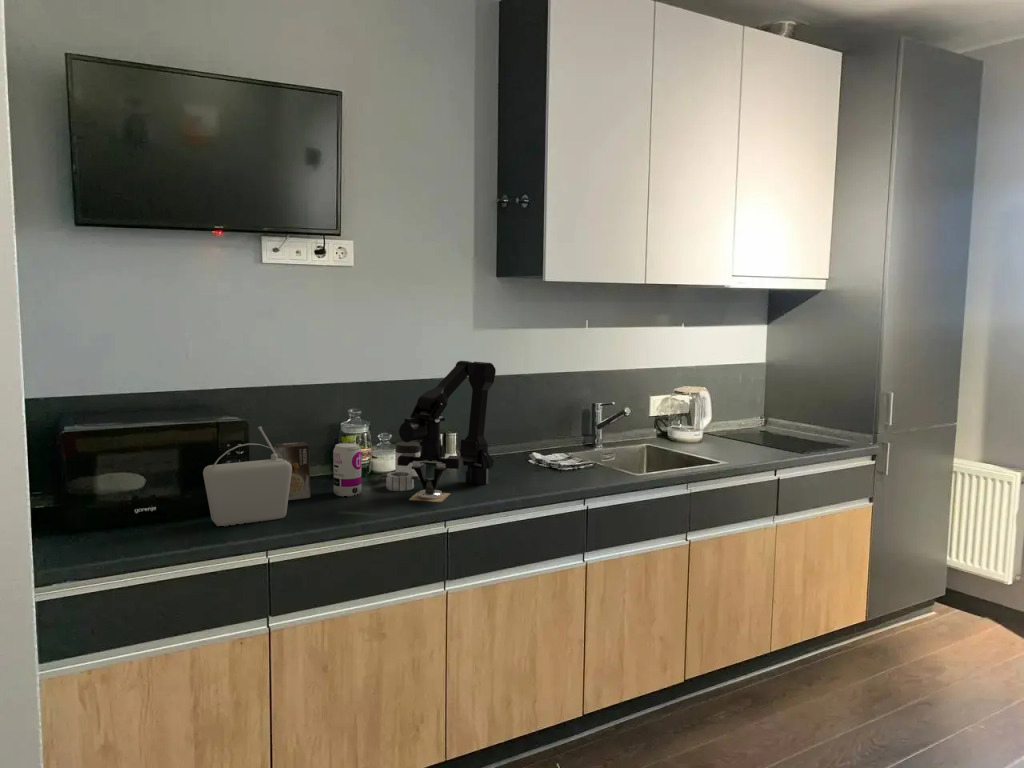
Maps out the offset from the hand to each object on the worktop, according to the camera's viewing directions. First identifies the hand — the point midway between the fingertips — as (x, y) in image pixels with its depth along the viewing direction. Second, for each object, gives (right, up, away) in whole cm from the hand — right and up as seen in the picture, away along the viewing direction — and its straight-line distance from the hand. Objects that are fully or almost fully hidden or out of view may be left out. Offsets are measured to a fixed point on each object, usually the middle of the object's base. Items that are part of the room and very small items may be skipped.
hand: (430, 489), depth 235 cm
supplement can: (-26, -2, +5) cm, 26 cm away
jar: (-10, 0, +24) cm, 26 cm away
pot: (-10, -2, +10) cm, 15 cm away
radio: (-46, -5, -24) cm, 52 cm away
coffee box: (-41, -3, 0) cm, 41 cm away
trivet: (0, -3, 0) cm, 3 cm away
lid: (0, -2, 0) cm, 2 cm away
